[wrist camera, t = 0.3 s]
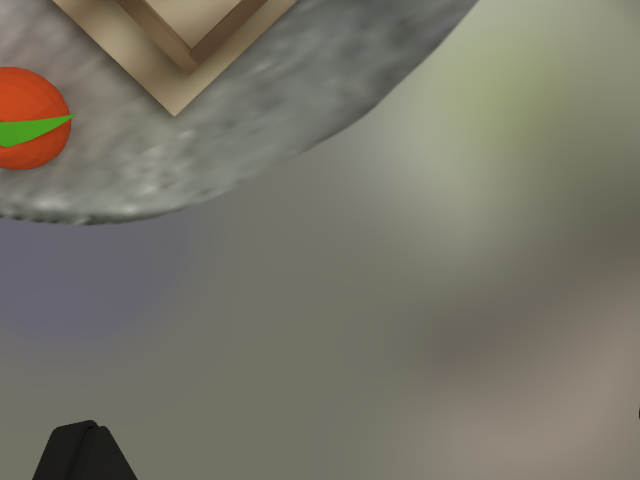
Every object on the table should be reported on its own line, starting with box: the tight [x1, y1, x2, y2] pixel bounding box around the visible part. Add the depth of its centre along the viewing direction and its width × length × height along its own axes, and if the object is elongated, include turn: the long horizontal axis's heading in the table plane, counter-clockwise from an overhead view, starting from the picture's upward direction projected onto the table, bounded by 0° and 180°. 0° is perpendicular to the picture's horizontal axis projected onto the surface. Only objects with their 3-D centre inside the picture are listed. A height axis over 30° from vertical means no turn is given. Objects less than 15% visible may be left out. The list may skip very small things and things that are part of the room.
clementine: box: [0, 67, 76, 170], centre depth 38 cm, size 8×7×7 cm
